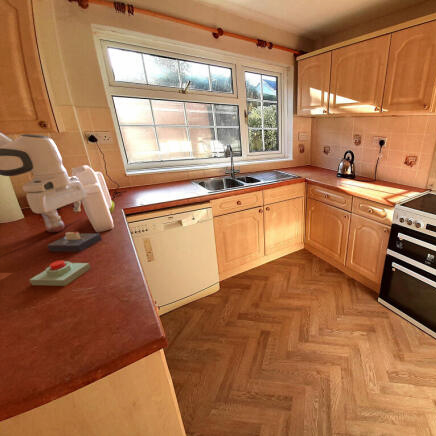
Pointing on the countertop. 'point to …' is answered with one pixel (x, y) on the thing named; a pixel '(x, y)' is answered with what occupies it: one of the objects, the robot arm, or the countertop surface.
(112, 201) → the fruit
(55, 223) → the plastic bottle
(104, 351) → the countertop surface
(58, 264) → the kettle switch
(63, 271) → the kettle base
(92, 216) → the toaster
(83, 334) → the countertop surface
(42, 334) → the countertop surface
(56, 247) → the dial panel
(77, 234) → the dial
